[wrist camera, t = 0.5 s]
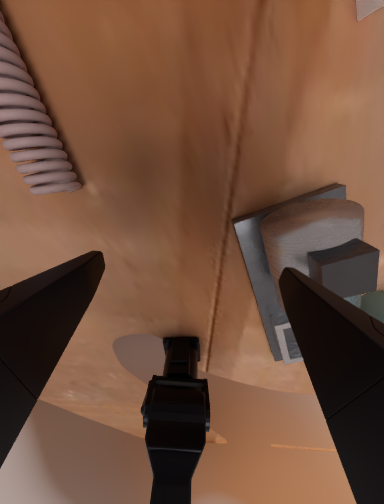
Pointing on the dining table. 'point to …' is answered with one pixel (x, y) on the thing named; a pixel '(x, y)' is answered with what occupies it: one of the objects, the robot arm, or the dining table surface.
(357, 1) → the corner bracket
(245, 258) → the motor plate
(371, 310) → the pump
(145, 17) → the dining table surface
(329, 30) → the dining table surface
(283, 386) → the dining table surface
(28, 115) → the coil
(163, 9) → the dining table surface
